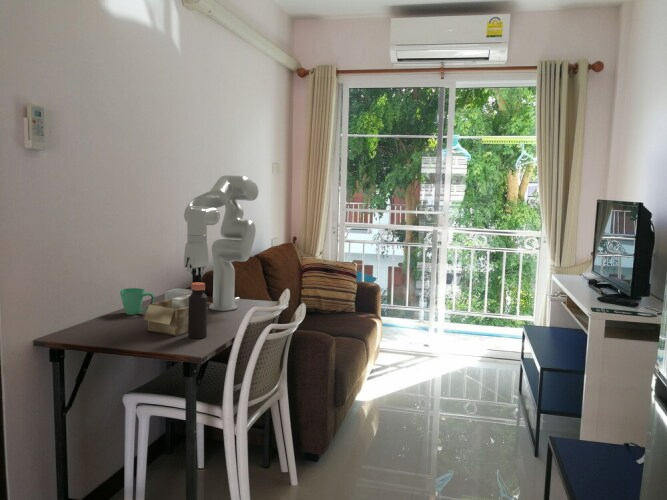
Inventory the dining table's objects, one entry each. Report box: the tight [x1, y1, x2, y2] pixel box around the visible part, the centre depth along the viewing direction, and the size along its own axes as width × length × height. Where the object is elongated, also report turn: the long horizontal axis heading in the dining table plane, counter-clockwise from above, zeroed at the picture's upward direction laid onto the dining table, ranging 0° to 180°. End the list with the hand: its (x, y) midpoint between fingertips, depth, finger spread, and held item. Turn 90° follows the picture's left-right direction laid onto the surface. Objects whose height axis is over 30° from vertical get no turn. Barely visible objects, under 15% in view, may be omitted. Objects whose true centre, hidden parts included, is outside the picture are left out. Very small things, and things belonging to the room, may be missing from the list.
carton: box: [147, 294, 191, 337], centre depth 214 cm, size 16×15×13 cm
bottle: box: [187, 281, 208, 340], centre depth 205 cm, size 7×7×20 cm
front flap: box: [143, 303, 175, 325], centre depth 206 cm, size 6×12×1 cm
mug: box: [119, 287, 156, 316], centre depth 236 cm, size 15×10×10 cm
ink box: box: [164, 287, 192, 301], centre depth 232 cm, size 8×8×12 cm
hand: (196, 284), depth 223 cm, fingers closed
